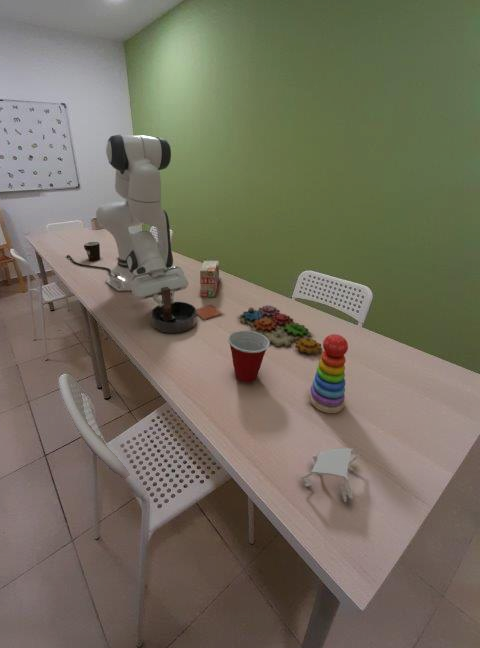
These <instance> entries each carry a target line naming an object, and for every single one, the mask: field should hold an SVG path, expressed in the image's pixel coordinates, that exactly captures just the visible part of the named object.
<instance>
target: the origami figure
mask: <svg viewBox="0 0 480 648" xmlns="http://www.w3.org/2000/svg"><path fill="white" fill-rule="evenodd" d="M351 455H353V458H351ZM350 458H351V459H350ZM359 458H360V454H358V452H356V451H355V450H354V448H348V447H346V448H341V447H340V448H332V449H328V450H325V451H321V452H320V451H319V453H317V454H316V453H315V454H314V453H313V455H312V459H313V461H314V466H313V468H312V469H311V470H310V471H309V472H308V473H307V474H304V475H301V476H300V477H299V478H300V479H301V480H302V481H303V482H306V483H305V485H304V486H305V487H307V488H308V487H309V486H312V485H313V482H312V481H310V480H308V479H307V478H309V477H310V476H312V475H321V476H323V475H325V476H334V477H339V478H343V480H344V483H345V487H346V488H345V487H344V486H340V491H341V492H340V493H341V495H342V499H343V502H345V503H347V500H348V498H347V496H348V497H349V498H350V499H351V500H353V499H354V498H353V497H354V493H353V490H352V487H351V485H350V482H349V479H348V471H351V472H354V468H353V467H352V466H351V464H352V463H353V462H356V461H357V460H358V459H359Z"/></svg>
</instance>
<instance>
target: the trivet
mask: <svg viewBox="0 0 480 648" xmlns="http://www.w3.org/2000/svg"><path fill="white" fill-rule="evenodd" d="M195 309H196V313H197V316H198V317H199V318H200V319H201V320H203V321H205V320H209V319H212V318H215V317H220V316H222V313H221V311H219V310H218V309H216V308H215V307H213V305H211V304H210V305H207V306H204V307H203V306H202V307H199V308H195Z"/></svg>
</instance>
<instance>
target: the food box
mask: <svg viewBox="0 0 480 648" xmlns="http://www.w3.org/2000/svg"><path fill="white" fill-rule="evenodd" d="M199 279H200V281H199V283H200V284H199V285H200V297H202V298H204V297H205V298H215V297H216V294H217V290H218V283H219V280H220V261H219V260H204V261H203V263H202V265H201V267H200V270H199Z"/></svg>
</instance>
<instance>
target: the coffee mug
mask: <svg viewBox="0 0 480 648" xmlns="http://www.w3.org/2000/svg"><path fill="white" fill-rule="evenodd" d="M100 247H101V246H100V242H99V241H89V242H85V243H84V244H83V249H84V251H86V255H87V258H88V261H89V262H97V261H100V260H101V249H100Z"/></svg>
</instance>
